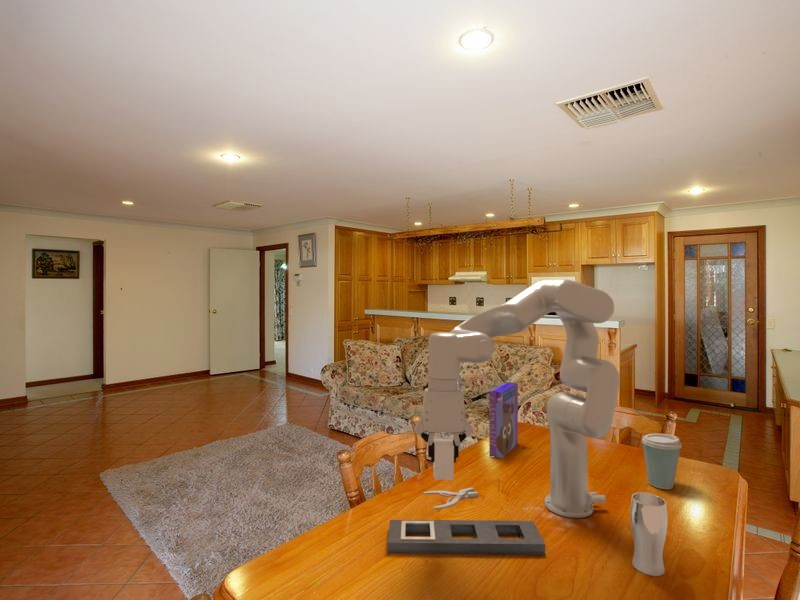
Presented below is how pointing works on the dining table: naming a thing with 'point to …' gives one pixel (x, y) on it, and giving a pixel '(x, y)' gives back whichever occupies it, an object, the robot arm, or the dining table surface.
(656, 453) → the disposable coffee cup
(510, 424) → the cereal box
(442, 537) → the rail
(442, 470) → the steel block
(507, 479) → the dining table surface
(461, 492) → the pliers
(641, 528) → the beer glass
